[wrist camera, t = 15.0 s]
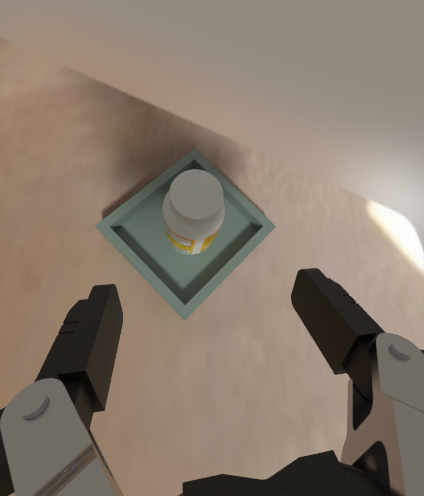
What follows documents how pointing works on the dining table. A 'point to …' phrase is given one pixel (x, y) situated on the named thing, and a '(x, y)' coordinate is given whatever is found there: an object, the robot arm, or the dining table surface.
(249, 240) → the tray
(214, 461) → the dining table surface
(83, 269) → the dining table surface
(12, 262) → the dining table surface
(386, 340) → the robot arm
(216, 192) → the supplement bottle
